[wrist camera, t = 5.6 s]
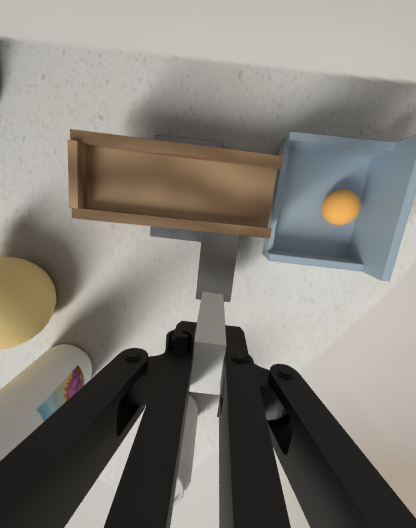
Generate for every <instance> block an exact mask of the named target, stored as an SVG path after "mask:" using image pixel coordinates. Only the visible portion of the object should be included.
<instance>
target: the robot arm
mask: <svg viewBox="0 0 416 528" xmlns="http://www.w3.org/2000/svg"><path fill="white" fill-rule="evenodd" d="M189 392H198V393H206V394H215V395H220V400H219V407H218V414H217V417H219V504H220V505H219V506H220V507H219V509H220V510H219V521H220V522H219V524H220V525H219V528H291V526H290V522H289V518H288V513H287V509H286V504H285V500H284V495H283V491H282V486H281V482H280V477H279V473H278V468H277V464H276V460H275V455H274V451H273V448H274V450H275V452H276V454H277V456H278V459H279V461H280V463H281V465H282V467H283V470H284V472H285V474H286V476H287V478H288V480H289V482H290V484H291V487H292V489H293V491H294V493H295V495H296V497H297V499H298V502H299V504H300V506H301V508H302V510H303V512H304V515H305V517H306V519H307V521H308V523H309V525H310V527H311V528H416V518H415V517H414V516H413V514H412V513H411V512H410V511H409V509H408V508H407V507H406V506H405V504H403V502H402V501H401V500H400V498H399V497H398V496H397V495H396V493H395V492H394V491H393V490H392V488H391V487H390V486H389V485H388V483H387V482H386V481H385V480H384V478H383V477H382V476H381V475H380V473H379V472H378V471H377V470H376V469H375V467H374V466H373V465H372V464H371V462H370V461H369V460H368V459H367V458H366V456H365V455H364V454H363V452H362V451H361V450H360V449H359V447H358V446H357V445H356V444H355V443H354V441H353V440H352V439H351V437H350V436H349V435H348V434H347V433H346V431H345V430H344V429H343V428H342V426H341V425H340V424H339V423H338V421H337V420H336V419H335V418H334V416H333V415H332V414H331V413H330V411H329V410H328V409H327V408H326V406H325V405H324V404H323V403H322V401H321V400H320V399H319V398H318V396H317V395H316V394H315V393H314V391H313V390H312V389H311V388H310V387H309V385H308V384H307V383H306V382H305V380H304V379H303V378H302V377H301V375H300V374H299V373H298V372H297V371H296V370H295V369H293V368H292V367H290V366H288V365H284V364H275V365H273V366H271V368H270V370H267V369H264V368H262V367H259V366H257V365H256V364H254V361H253V359H252V357H251V356H250V355H249V354H248V350H247V345H246V340H245V335H244V331H243V330H242V329H241V328H240V327H236V326H227V325H225V315H224V299H223V294H216V293H208V292H202V298H201V303H200V309H199V315H198V321H197V323H196V322H187V321H181V322H180V323H178V324H177V326H176V329H175V330H172V331H170V332H168V334H167V337H166V350H165V353H163V354H161V355H158V356H150V357H148V353H147V352H146V351H145V350H143V349H139V348H130V349H126V350H124V351H122V352H121V353H120V354H118V355H117V356H116V357H115V358H114V359H113V360H112V361H111V362H110V363H108V364H107V365H106V366H105V367H104V368H103V369H102V370H101V371H100V372H98V373H97V374H96V375H95V376H94V377H93V378H92V379H91V380H90V381H88V382H87V383H86V384H85V385H84V386H83V387H82V388H81V389H80V390H78V391H77V392H76V393H75V394H74V395H73V396H72V397H71V398H70V399H68V400H67V401H66V402H65V403H64V404H63V405H62V406H61V407H60V408H58V409H57V410H56V411H55V412H54V413H53V414H52V415H51V416H50V417H48V418H47V419H46V420H45V421H44V422H43V423H42V424H41V425H40V426H39V427H37V428H36V429H35V430H34V431H33V432H32V433H31V434H30V435H29V436H27V437H26V438H25V439H24V440H23V441H22V442H21V443H20V444H19V445H17V446H16V447H15V448H14V449H13V450H12V451H11V452H10V453H9V454H7V455H6V456H5V457H4V458H3V459H2V460H1V461H0V528H64V527H65V525H66V524H67V523H68V521H69V520H70V518H71V516H72V515H73V514H74V512H75V510H76V509H77V508H78V506H79V505H80V503H81V502H82V500H83V499H84V498H85V496H86V495H87V493H88V492H89V490H90V489H91V487H92V486H93V484H94V483H95V481H96V480H97V478H98V477H99V475H100V474H101V472H102V471H103V469H104V468H105V466H106V465H107V463H108V462H109V461H110V459H111V458H112V456H113V455H114V453H115V452H116V450H117V449H118V447H119V446H120V444H121V443H122V441H123V440H124V438H125V437H126V435H127V434H128V432H129V431H130V429H131V428H132V426H133V425H134V424H135V422H136V421H137V419H138V418H139V416H140V415H141V413H142V412H143V410H144V408H145V406H146V408H145V411H144V414H143V416H142V419H141V422H140V425H139V428H138V431H137V434H136V437H135V439H134V442H133V445H132V448H131V451H130V454H129V457H128V459H127V462H126V465H125V468H124V471H123V474H122V477H121V480H120V482H119V485H118V488H117V491H116V494H115V497H114V500H113V503H112V505H111V508H110V511H109V514H108V517H107V520H106V523H105V525H104V528H170V524H171V517H172V510H173V503H174V496H175V489H176V482H177V475H178V468H179V461H180V454H181V448H182V441H183V434H184V427H185V420H186V413H187V406H188V399H189Z"/></svg>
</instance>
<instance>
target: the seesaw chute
mask: <svg viewBox="0 0 416 528" xmlns="http://www.w3.org/2000/svg"><path fill="white" fill-rule="evenodd" d="M70 139H71V140H68V172H69V208H72V218H77V219H87V220H97V221H107V222H116V223H126V224H136V225H146V226H156V227H165V228H175V229H185V230H195V231H203V232H202V242H201V251H200V261H199V271H198V281H197V291H196V299H200V300H201V298H202V292H208V293H216V294H223V299H224V302H230V299H231V292H232V285H233V277H234V270H235V263H236V255H237V248H238V241H239V235H243V236H253V237H263V238H270V237H271V231H272V229H271V228H268V223H269V217H270V211H271V204H272V198H273V192H274V186H275V180H276V173H277V169H279V168H281V167H282V164H283V158H284V156H279V155H271V154H263V153H255V152H247V151H239V150H231V149H223V148H215V147H207V146H200V145H192V144H184V143H176V142H168V141H160V140H152V139H144V138H136V137H128V136H120V135H112V134H105V133H97V132H89V131H81V130H73V129H70Z"/></svg>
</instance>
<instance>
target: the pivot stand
mask: <svg viewBox="0 0 416 528" xmlns="http://www.w3.org/2000/svg"><path fill="white" fill-rule="evenodd" d="M155 140H160V141H168V142H176V143H184V144H192V145H200V146H207V147H215V148H222V147H223V142H218V141H208V140H199V139H189V138H180V137H170V136H160V135H155ZM202 232H203V231H195V230H185V229H175V228H165V227H156V226H151V230H150V236H154V237H163V238H172V239H181V240H189V241H198V242H202Z"/></svg>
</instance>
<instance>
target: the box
mask: <svg viewBox="0 0 416 528" xmlns="http://www.w3.org/2000/svg"><path fill="white" fill-rule="evenodd" d="M278 155H279V156H284V158H283V164H282V167H281V168H279V169H277V173H276V180H275V186H274V192H273V198H272V204H271V211H270V217H269V223H268V228H271V229H272V231H271V237H270V238H265V240H264V246H263V253H262V254H263V255H264V256H265V257H266V258H267V259H268V260H269V261H274V262H283V263H292V264H300V265H309V266H318V267H327V268H336V269H344V270H353V271H362V272H364V273H366V274H368V275H371V276H373V277H375V278H377V279H379V280H382V281H390V278H391V275H392V271H393V268H394V264H395V261H396V257H397V254H398V251H399V247H400V244H401V240H402V237H403V233H404V230H405V226H406V223H407V219H408V216H409V213H410V209H411V206H412V202H413V199H414V195H415V192H416V135H414V136H411V137H409V138H406V139H403V140H400V141H398V142H387V141H378V140H368V139H358V138H348V137H338V136H329V135H319V134H309V133H299V132H290V133H289V134H288V135H287V136H286V137H285V138H284V139H283V140H282V141H281V142H280V147H279V153H278ZM337 190H350V191H352V192H354V193H355V194H356V195H357V196H358V197H359V199H360V201H361V210H360V212H359V214H358V216H357V217H356V218H355V219H354V220H353V221H352V222H350V223H348V224H345V225H334V224H331V223H329V222H328V221H327V220H326V219H325V218H324V217H323V215H322V204H323V201H324V200H325V198H326V197H327V196H328V195H329V194H331V193H332V192H334V191H337Z"/></svg>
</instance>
